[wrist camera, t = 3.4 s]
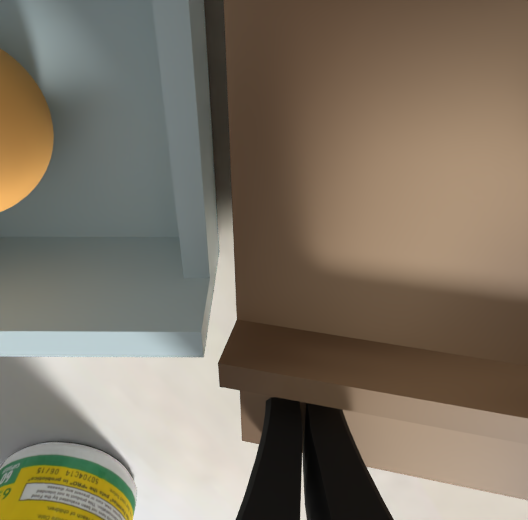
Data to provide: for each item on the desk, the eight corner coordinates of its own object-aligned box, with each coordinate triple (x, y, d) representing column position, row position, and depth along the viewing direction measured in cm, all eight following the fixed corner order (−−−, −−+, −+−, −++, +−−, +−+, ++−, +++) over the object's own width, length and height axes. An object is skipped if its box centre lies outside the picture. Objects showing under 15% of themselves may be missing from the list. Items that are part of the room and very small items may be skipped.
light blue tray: (195, -144, 9) (152, -183, 6) (219, 251, 14) (203, 357, 10) (-218, -143, 9) (-506, -182, 6) (-51, 250, 14) (-153, 355, 10)
